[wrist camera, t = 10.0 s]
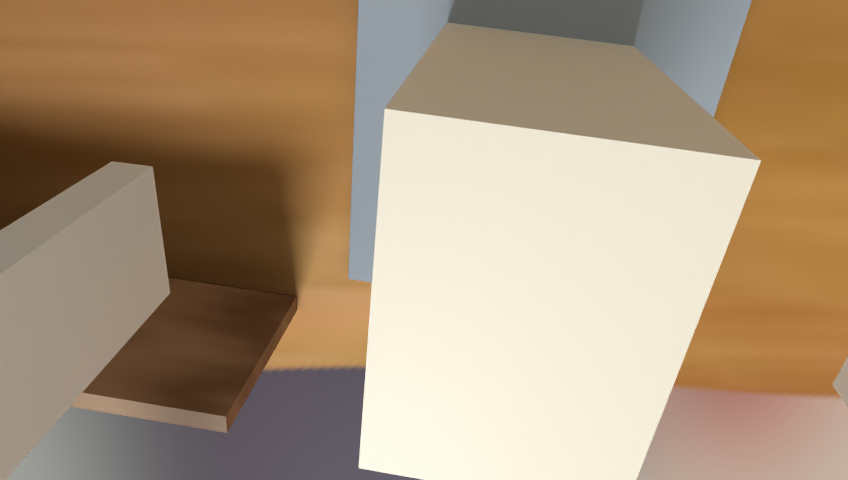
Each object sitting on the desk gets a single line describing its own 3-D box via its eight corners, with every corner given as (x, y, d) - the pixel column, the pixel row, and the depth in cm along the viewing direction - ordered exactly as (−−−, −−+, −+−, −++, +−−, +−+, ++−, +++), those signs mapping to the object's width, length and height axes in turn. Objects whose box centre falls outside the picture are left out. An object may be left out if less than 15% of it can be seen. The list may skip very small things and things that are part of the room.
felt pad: (351, 272, 21) (348, 279, 20) (363, -46, 16) (360, -46, 16) (643, 315, 20) (646, 322, 19) (747, -5, 15) (752, -4, 15)
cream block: (421, 248, 19) (358, 467, 11) (446, 22, 16) (384, 108, 8) (575, 271, 19) (622, 515, 11) (633, 45, 16) (761, 160, 8)
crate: (-76, 253, 23) (-254, 351, 17) (-225, -177, 16) (-581, -231, 11) (296, 310, 22) (227, 432, 16) (291, -126, 15) (175, -159, 10)
